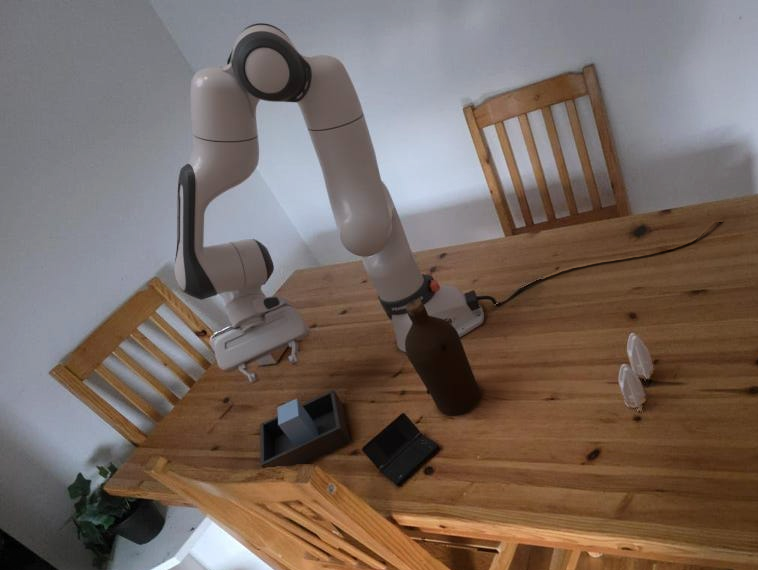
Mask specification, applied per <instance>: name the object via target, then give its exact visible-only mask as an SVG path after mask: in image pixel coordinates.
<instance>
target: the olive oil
mask: <svg viewBox="0 0 758 570" xmlns="http://www.w3.org/2000/svg"><path fill="white" fill-rule="evenodd" d="M405 308H406V310H407V312H408V316H409V318H410V320H411V321H412V325H411V327H410V329H409V331H408V334H407V336H406V339H405V349H406V352H405V353H406V356H407V359H408V361H409V362H410V364H411V365H412V367H413V369H414V370H415V372H416V374H417V375H418V376H419V378H420V380H421V382H422V384H423V385H424V387H425V388H426V393H427V394H428V396H431V399H432V400H433V402H434V404H435V406H436V407H437V409H438V411H440V413H441V414H443V415H445V416H451V417H452V416H453V417H454V416H459V415H463V414H465V413H467V412H469V411H470V410H472V409H473V408H474V407H476V405H477V404H478V402H479V400H480V398H481V389H480V387H479V384H478V382H477V380H476V377H475V375H474V374H475V373H474V372H473V369H472V367H471V364H470V362H469V359H468V356H467V353H466V351H465V348H464V345H463V343H462V340H461V337H459V334H458V332H457V331H456V329H455V328H454V327H453V326H452V325H451V324H450V323H449V322H448V321H446V320H444V319H441V318H437V317H432V316H429V315H428V313H427V311H426V309H425V306H424V305H423V304H422V302H421V300H418V299H416V300H412V301H410V302H409V303H408V304H407V305H406V307H405Z"/></svg>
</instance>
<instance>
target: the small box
mask: <svg viewBox="0 0 758 570" xmlns="http://www.w3.org/2000/svg"><path fill="white" fill-rule="evenodd" d="M288 347H289V346H287V347H284V348H282V349H280V350H278V351H276V352H274V353H271V354H269V355H267V356H265V357H263V358H261V359H258V360H256V362H257V363H258V364H259V366H267V365H274V364H277V363H278V362H279V360H280V359H281V357H282V355H283V354H284V352H286V350H287V348H288Z"/></svg>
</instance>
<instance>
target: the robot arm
mask: <svg viewBox="0 0 758 570" xmlns="http://www.w3.org/2000/svg"><path fill="white" fill-rule="evenodd" d="M189 95H190V97H189V99H190V101H189V102H190V103H189V104H190V105H189V106H190V118H191V119H190V120H191V128H192V129H191V130H192V135H193V148H192V152H191V156H190V158H189V160H188V162H187V163H186V164H185V165H184V166H182V167H181V168H180V170H179V175H178V181H177V198H176V199H177V202H176V205H177V206H176V213H177V214H176V230H177V231H176V249H175V250H176V251H175V258H174V275H175V279H176V283H177V285H178V287H179V289H180V291H182V292H183V293H184V294H187V295H188V296H190V297H192V298H194V299H198V300H199V301H200V300H201V301H202V300H206V299H209V298H212V297H216V296H217V295H219V296H220V297H221V298H222V300H223V303H224V310H225V312H226V315H227V317H228V320H229V322H230V324H229V325H226V326H225V327H224V328H222V329H220V330H216V331H215V332H213V334H212V335H211V336H210V338H209V345H210V347H211V349H212V351H213V352H214V356H215V359H216V363H217V367H218V368H219V370H221V371H224V372H226V373H233V372H234V371H237V370H238V371H240V372H241V373H242V374H243V375H245V376H246V377H247V378H248V381H249V383H250V384H253V385H254V384H255V383H258V382H260V378H259V376H258V374H257V373H256V372H252V373H251V372H250V371H249V369H250V368H249V364H252V363H254V362H257V360H258V359H261V358H263V357H265V356H267V355H269V354H271V353H274V352H276V351H278V350H280V349H282V348H284V347H287V346H288V347H289V348H291V355H289V356H288V357H287V359H288V360H289V363H290V364H291V365H292V366H295V365H297V364H299V363H301V362H300V359H299V357H298V354H299V347H300V346H299V343H298V342H300V341H302V340H304V339H306V338H308V337H309V336H310V334H311V329H310V327H309V325H308V323H307V321H306V320H305V318H304V316H303V315H302V313H300V312H299V311H298V310H297V309H295V307H294V304H293V302H292V301H291V300H290V299H288V298H287V297H285V296H284V295H273V296H267V295H266V294H265V293H264V291H263V290H262V287H263V286H265V285H266V284H267V283H268V281H269V280H270V278H271V276H272V274H273V273H274V271H275V266H274V261H273V259H272V257H271V254H270V251H269V250H268V248H267V247H266V245H264V244H263V243H262V242H260V241H259V240H258V239H254V238H246V239H238V240H233V241H228V242H224V243H219V244H212V245H208V246H207V245H206V246H204V245H205V244H204V243H205V241H204V240H205V239H204V238H205V214H206V210H207V208H208V206H209V205H210V204H211V203H212V202H213V201H214V200H215V199H216V198H218V197H219V196H221V195H222V194H224V193H225V192H227V191H230V190H232V189H234V188H235V187H237V186H239V185H241V184H243V183H244V182H245V181H247V180H248V179H249V178H250V177H251V176H252V175H253V173H254V172H255V171H256V169H257V167H258V165H259V161H260V143H259V133H258V123H257V108H258V104H259V102H260V101H264V102H273V103H277V102H278V103H283V102H284V103H296V104H297V106H298V108H299V109H300V112H301V114H302V117H303V120H304V123H305V126H306V129H307V132H308V134H309V138H310V140H311V143H312V146H313V149H314V152H315V154H316V158H317V160H318V163H319V165H320V169H321V172H322V176H323V181H324V186H325V189H326V193H327V196H328V201H329V204H330V208H331V211H332V215H333V218H334V221H335V225H336V228H337V229H336V230H337V233H338V236H339V239H340V242H341V244H342V246H343V247H344V248H345V249H346V250H347V251H348V252H350V253H351V254H353V255H355V256H357V257H361V260H362V263H363V267H364V270H365V272H366V274H367V276H368V278H369V280H370V281H371V284H372V285H373V288H374V290H375V291H376V293H377V297H378V302H379V304H380V306H381V308H382V310H383V312H384V314H385V316H386V317H387V318H388V319H389V321H390V323H391V326H392V329H393V332H394V336H395V342H396V346H397V348H398V349H399V350H400V351H401V352H403V353H406V349H405V339H406V336H407V334H408V331H409V329H410V327H411V325H412V321H411V320H410V318H409V316H408V312H407V310H406V308H405V307H406V305H407V304H408V303H409V302H410V301H412V300H416V299H418V300H421V302H422V304H423V305H424V306H425V309H426V311H427V313H428V315H429V316H432V317H437V318H441V319H444V320H446V321H448V322H449V323H450V324H451V325H452V326H453V327H454V328H455V329H456V331H457V332H458V334H459V337H460V338H462V337H463V336H464V335H465V336H466V334H468V333H470V332H471V331H473V330H474V329H476V328H477V327H479V326H481V325H482V324H483V323H484V320H485V312H484V309H483V307H482V306H481V304H480V302H479V301H484V300H488V301H491V302H492V304H493V305H494V304H496V303H497V302H498V304H496V305H494V306H495V307H501V306H504V305H505V304H507V303H508V302H509V301H511V300H512V299H515V297H517V296H518V295H520V294H521V292H523V291H524V290H526V289H529V287H531V286H533V285H535V284H537V283H539V282H541V281H543V280H545V279H543V280H542V279H539V280H536V281H534V282H532V283H530V282H529V283H530V284H528V283H527V284H528V285H526V284H525V285H526V286H524V285H523V286H524V287H522V286H521V287H522V288H521V287H519V288H518V289H517V290H516V291H515V292H513V294H511V295H510V296H509V297H508V298H507V299H505V300H503V301H497V300H496V298H495V297H493V296H491V295H477V293H476V291H475V289H473V290H470V291H467V292H465V293H464V292H463V291H462V290H461V289H460V288H458V287H456V286H455V285H449V284H440V283H439V282H438V281H437V280H435V278H434V277H433V275H431V274H430V272H428V271H425V272H426V274H425V273H422V271H421V269H420V267H419V264H418V263H417V260H416V258H415V256H414V254H413V252H412V249H411V247H410V243H409V241H408V238H407V235H406V232H405V229H404V227H403V224H402V222H401V221H402V220H401V219H400V215H399V213H398V210H397V208H396V205H395V203H394V201H393V198H392V196H391V193H390V191H389V189H388V187H387V185H386V184H385V182H384V181H383V180H382V177H381V174H380V168H379V164H378V160H377V156H376V151H375V148H374V144H373V141H372V137H371V134H370V130H369V127H368V124H367V120H366V117H365V113H364V110H363V107H362V103H361V101H360V99H359V95H358V93H357V90H356V88H355V86H354V83H353V81H352V79H351V77H350V75H349V72H348V71H347V69H346V67H345V65H344V64H343V62H342V61H341V60H339V59H338V58H336V57H335V56H331V55H327V54H318V55H313V56H305V55H303V54H301V53H300V51H298V49H297V47H296V46H295V45H294V43H293V42H292V41H291V39H290V38H289V37H288V35H287V34H286V33H285V32H284V31H283V30H282V29H280V28H279V27H277V26H275V25H272V24H269V23H264V22H262V23H261V22H260V23H253V24H250V25H248V26H247V27H245V28H244V29H243V30H242V31H241V32H240V33H239V34H238V36H237V38H236V39H235V41H234V44H233V47H232V49H231V52H230V54H229V56H228V59H227V61H226V65H222V66H208V67H205V68H202V69H200V70H198V71H197V72H196V73H194V75H193V76H192V78H191V80H190V93H189ZM541 277H542V276H541ZM542 278H543V277H542ZM479 304H480V305H479ZM480 306H481V307H480ZM482 311H483V312H482ZM482 314H483V316H482ZM288 347H287V348H288Z"/></svg>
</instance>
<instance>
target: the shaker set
mask: <svg viewBox="0 0 758 570" xmlns="http://www.w3.org/2000/svg"><path fill="white" fill-rule="evenodd" d="M626 354H627V358H628V360H629V364H630V366H629V365H628V364H627V363H623V364H621V366H620V368H619V371H618V377H617V381H618V384H619V388H620V391H621V394H622V395H623V396H624V397H623V396H622V395H621V396H622V397H623V401H624V404H625V405H626V406H627V408H634V409H635V408H636V407H637V406H639V405H640V404H641V403H640V399H642V398H643V396H646V393H645V390H644V388H643V385H642V382H641V379H639V378H638V376H637V374H638V375H644V376H645V377H646V379H647V378H649V377H650V375H649V372H650V371H651V370H652V369H653V366H654V363H653V360H652V358H651V354H650V351H649V349H648V347H647V346H646V344H645V342H644V341H643V340H642V339H641V338H640V337H639V336H638V335H637V334H636V333H635V332H631V333H630V334H629V336H628V339H627V344H626ZM624 399H625V400H626V402H631V403H632V402H635V403H636V404H634V405H635V406H634V405H632V404H627V403H626V402H625V400H624ZM636 405H637V406H636ZM642 407H643V406H642ZM642 407H641V409H642ZM638 409H639V410H640V408H638ZM638 409H637V408H636V410H637V412H638V411H639V410H638ZM641 411H642V410H641ZM641 411H640V412H639V413H642V412H643V411H642V412H641Z"/></svg>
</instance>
